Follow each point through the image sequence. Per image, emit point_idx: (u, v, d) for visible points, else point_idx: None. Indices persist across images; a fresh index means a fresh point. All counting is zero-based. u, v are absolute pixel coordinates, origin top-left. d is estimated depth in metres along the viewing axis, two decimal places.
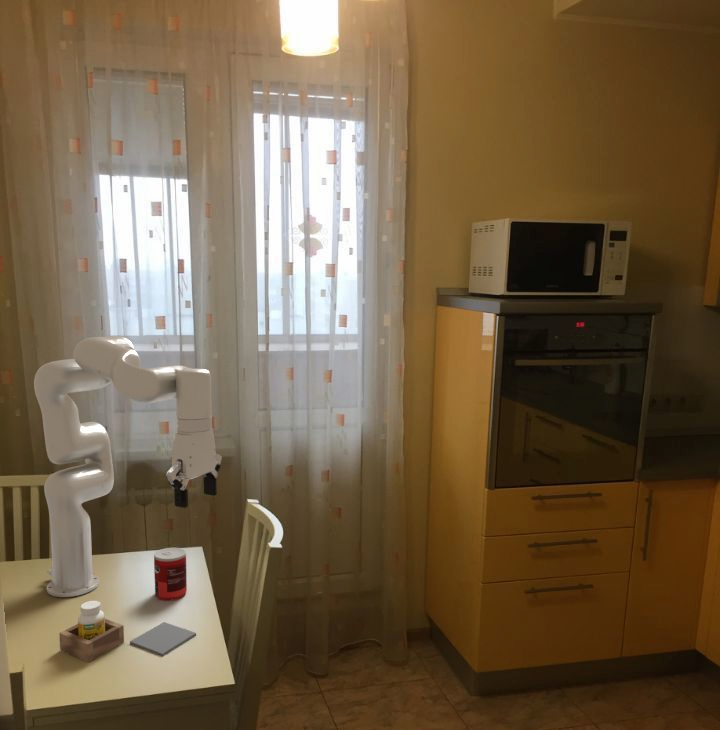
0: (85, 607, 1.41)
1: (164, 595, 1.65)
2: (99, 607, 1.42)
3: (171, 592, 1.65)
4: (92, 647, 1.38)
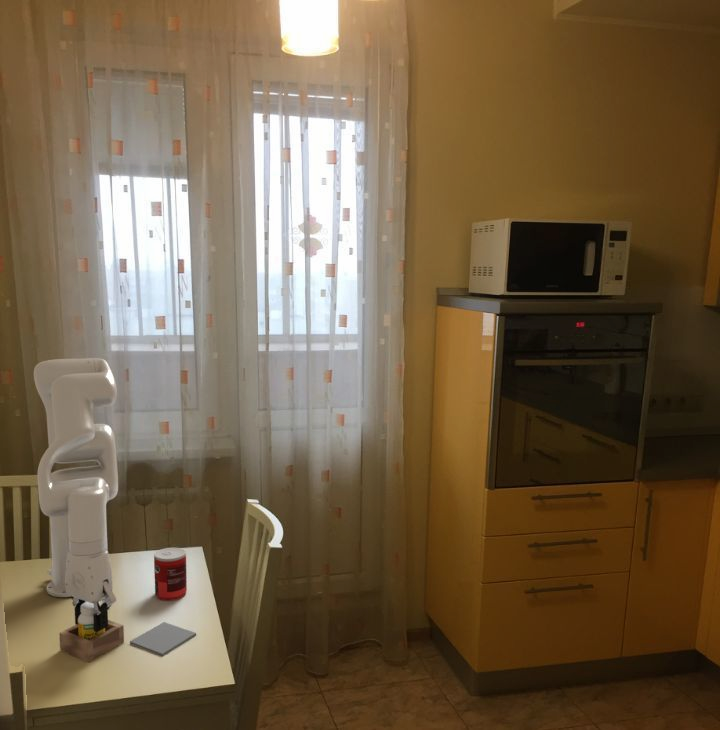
0: (85, 607, 1.41)
1: (164, 595, 1.65)
2: None
3: (171, 592, 1.65)
4: (92, 647, 1.38)
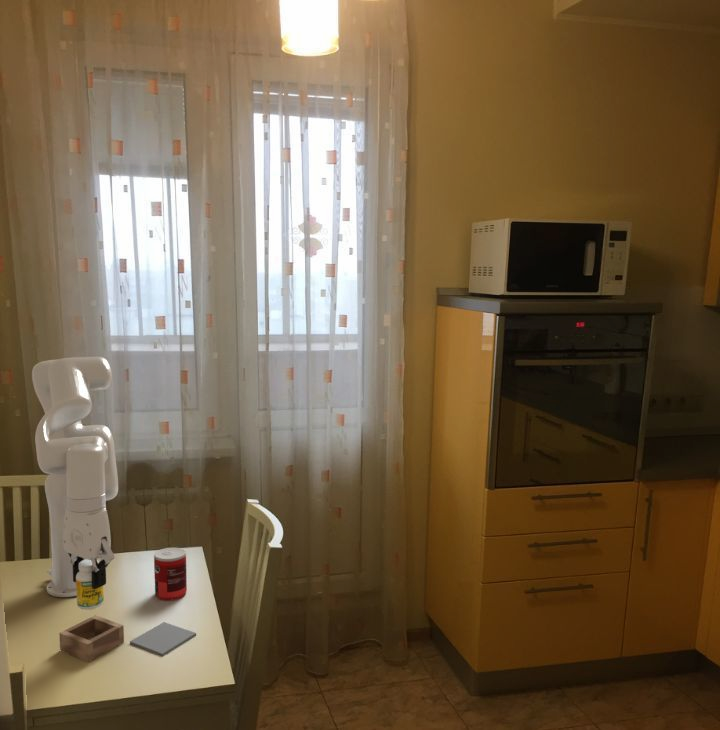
0: (83, 565, 1.41)
1: (164, 595, 1.65)
2: None
3: (171, 592, 1.65)
4: (92, 647, 1.38)
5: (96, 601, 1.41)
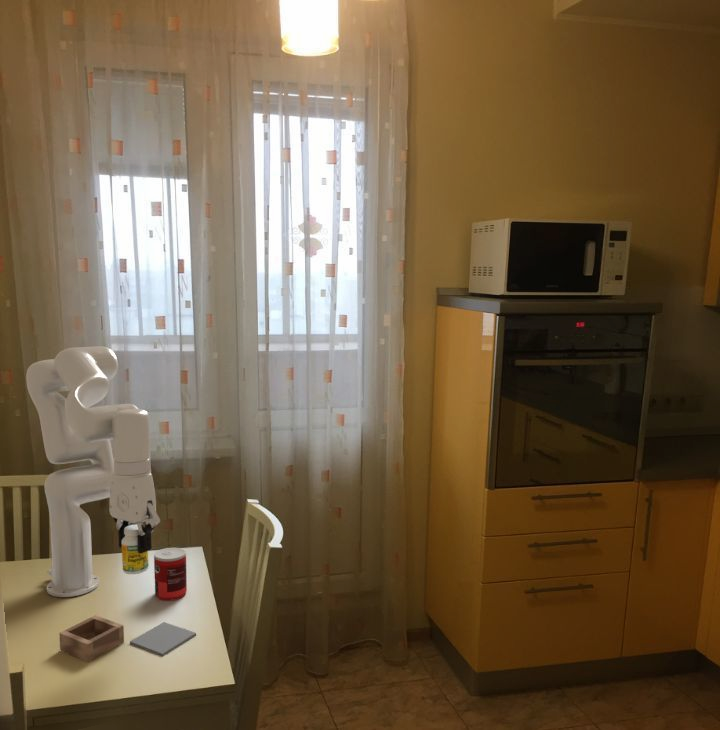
0: (129, 529, 1.41)
1: (164, 595, 1.65)
2: None
3: (171, 592, 1.65)
4: (92, 647, 1.38)
5: (141, 566, 1.42)
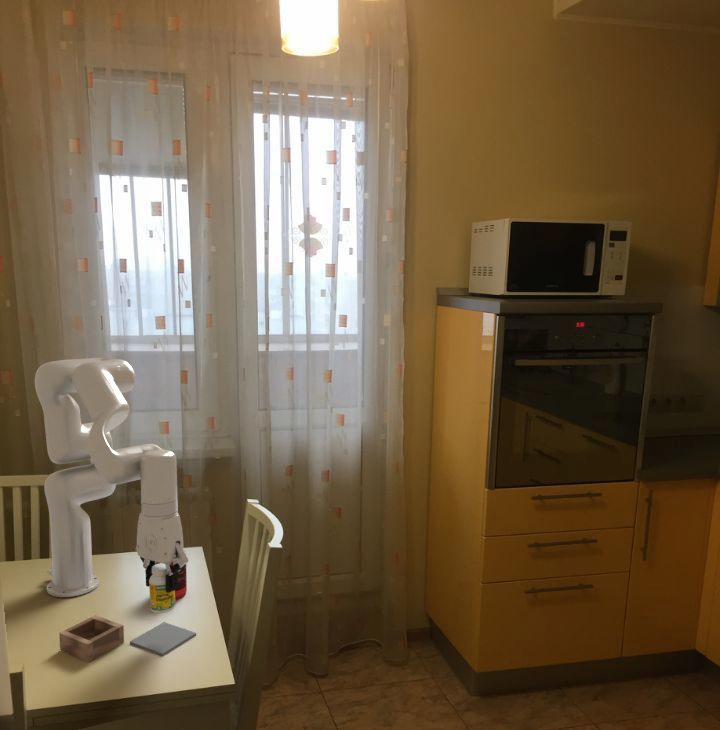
0: (157, 569, 1.44)
1: None
2: None
3: None
4: (92, 647, 1.38)
5: (169, 604, 1.44)
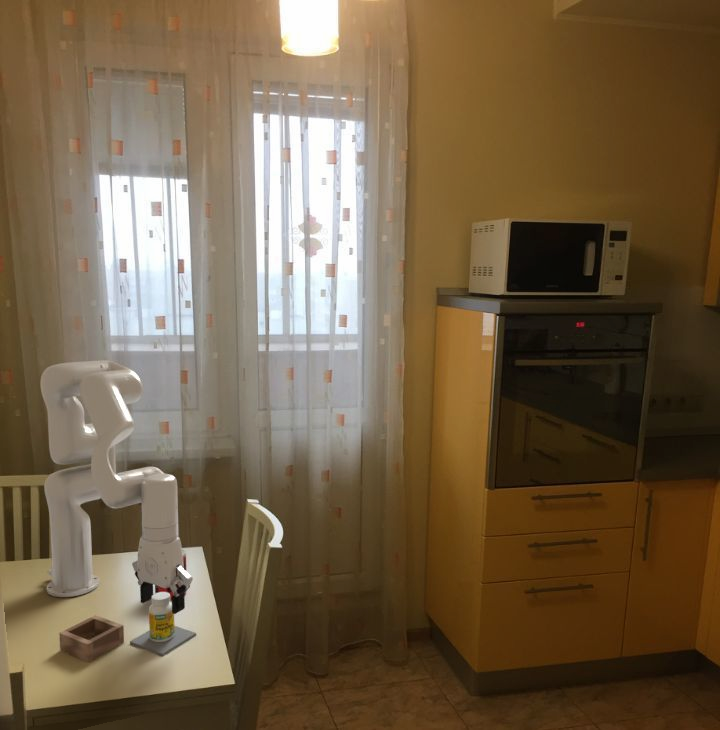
0: (157, 598, 1.44)
1: None
2: (169, 598, 1.46)
3: (171, 592, 1.65)
4: (92, 647, 1.38)
5: (168, 633, 1.45)
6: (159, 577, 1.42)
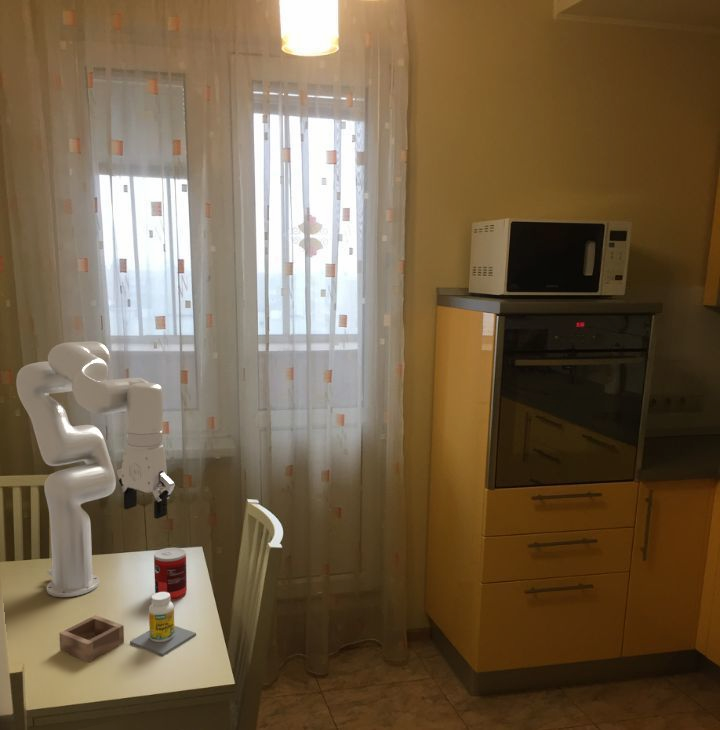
0: (157, 598, 1.44)
1: None
2: (169, 598, 1.46)
3: (171, 592, 1.65)
4: (92, 647, 1.38)
5: (168, 633, 1.45)
6: (142, 482, 1.45)
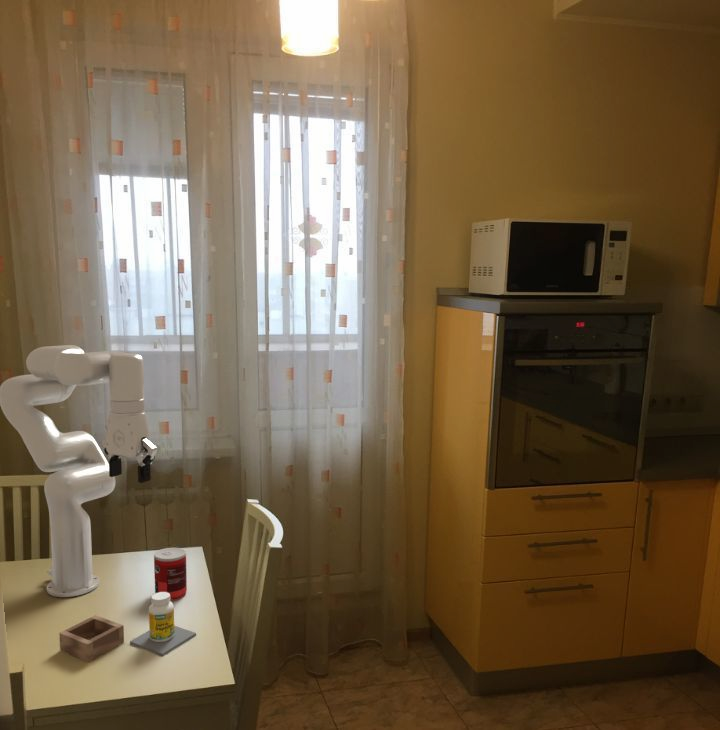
0: (157, 598, 1.44)
1: None
2: (169, 598, 1.46)
3: (171, 592, 1.65)
4: (92, 647, 1.38)
5: (168, 633, 1.45)
6: (126, 448, 1.51)
